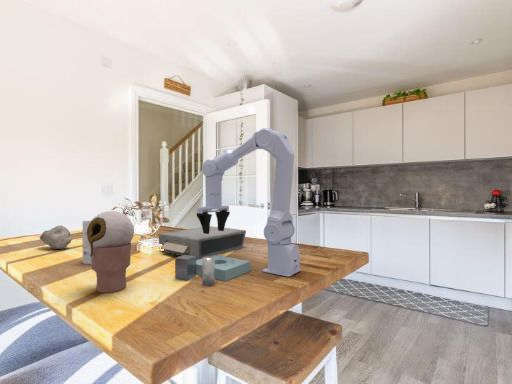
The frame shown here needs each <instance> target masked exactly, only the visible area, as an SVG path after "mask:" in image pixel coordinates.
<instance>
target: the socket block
mask: <svg viewBox="0 0 512 384" xmlns="http://www.w3.org/2000/svg"><path fill="white" fill-rule="evenodd" d="M212 257H215V280H218V281H223V282H227V281H230V280H231V279H234V278H237V277H240V276H242V275H245V274H246V273H249V272H251V270H252V269H251V268H252V267H251V266H252V265H251V264H252V263H251V262H252V261H250V260H246V259H245V260H244V259H239V258H234V257H228V256H222V255H213V256H212ZM197 275H198V276H201V277H202V259H199V260H197V259H196V276H197Z"/></svg>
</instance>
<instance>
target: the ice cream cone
mask: <svg viewBox="0 0 512 384" xmlns="http://www.w3.org/2000/svg"><path fill="white" fill-rule="evenodd" d="M89 221H90V223H89V225H88V227H87V231H86V234H87V239H88V242H89V244H90V246H91V247H90V250H91V254H90V257H91V264H90V266H91V270H92V271H94V272H95V273H96V286H95V287H96V291H97V292H98V293H104V294H105V293H113V292H118V291H119V292H120V291H122V290H124V289H125V288H126V287H127V277H126V276H127V274H126V273H127V268H129V266H131V248H132V240H133V238H134V233H135V229H134V225H133V221H132V220H131V219H130V218H129V217H128V215H126V214H124V213H123V212H119V211H116V210H110V211H107V210H106V211H103V212H100V213H98V214H97V215H96V216H94V217H93V218H92V219H91V220H89Z"/></svg>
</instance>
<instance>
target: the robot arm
mask: <svg viewBox="0 0 512 384" xmlns="http://www.w3.org/2000/svg"><path fill="white" fill-rule="evenodd" d="M257 150H264V151H266V152H268V153H269V155H270V156H272V157H273V158H274V159H275V168H274V182H273V194H272V207H271V208H272V209H271V212H270V214H269V215H268V216H267V220H266V221H267V222H266V225H265V226H264V228H263V235H264V238H265V240H266V241H267V267H266V268H264V269H262V270H261V271H262V272H263V273H268V274H274V275H279V276H284V277H291V276H293V275H294V274H297V273H298V272H301V270H302V269H301V268H300V266H301V265H300V264H301V263H300V260H301V259H300V257H301V256H300V255H301V253H300V247H299V246H298V245H297V244H294V243H292V237H293V236H294V235H295V231H296V230H295V225H294V222H293V219H294V217H293V215H292V214H291V213H290V211H291V209H290V208H291V198H292V187H293V185H292V184H293V175H294V163H295V154H294V151H293V148H292V146H291V143H290V138H289V137H288V136H287V135H286V134H284V133H283V132H280V131H277V130H274V129H271V128H270V127H262V128H260V129H259V130H258V131H256V132H254V133H253V135H252V136H251V137H250V138H248V139H247V140H245V141H244V142H243V143H241V144H240V145H238V146H237V147H236V148H235V149H233V150H231V149H225V150H223V151H222V153H221V154H220V155H218V156H214V157H213V159H206V160H205V161H204V162H203V163H202V166H201V172H202V174H203V175H204V177H205V178H204V179H205V182H204V183H205V185H204V186H205V188H204V189H205V205H204V206H201V207H196V217H197V219H198V220H199V222H200V227H202V229H203V233H204V234H209V231H210V225H211V220H212V216H213V214H210V213H215V216H216V220H217V227H218V231H224V228H226V227H225V226H226V223H227V220H228V217H230V215H231V214H230V213H231V212H230V209H229V208H230V206H229V205H223V204H222V203H223V202H222V199H223V198H222V195H223V194H222V181H223V177H224V175H225V172H226V171H228V170H230V169H231V168H233V167H234V166H236V165H238V163H239V160H240V159H242V158H243V157H245V156H247V155H249V154H250V153H252V152H254V151H257Z"/></svg>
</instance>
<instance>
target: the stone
mask: <svg viewBox="0 0 512 384" xmlns="http://www.w3.org/2000/svg"><path fill="white" fill-rule="evenodd" d="M72 237H73V236H72V234H71V232H70V231H69V229H68V228H66V227H65V226H64V225H62V224H61V225H56V226H55V227H52V228H50V229H48V230H44V231H43V232H42V233H41V235H40V237H39V239H40V240H41V241H42V242H43V243H44V244H46V245H48V246H49V247H50V248H52V249H54V250H57V249H58V250H59V249H60V250H61V249H62V250H63V249H65V248H66V247H68V245H69V244H71V243H72V240H73V238H72Z"/></svg>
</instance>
